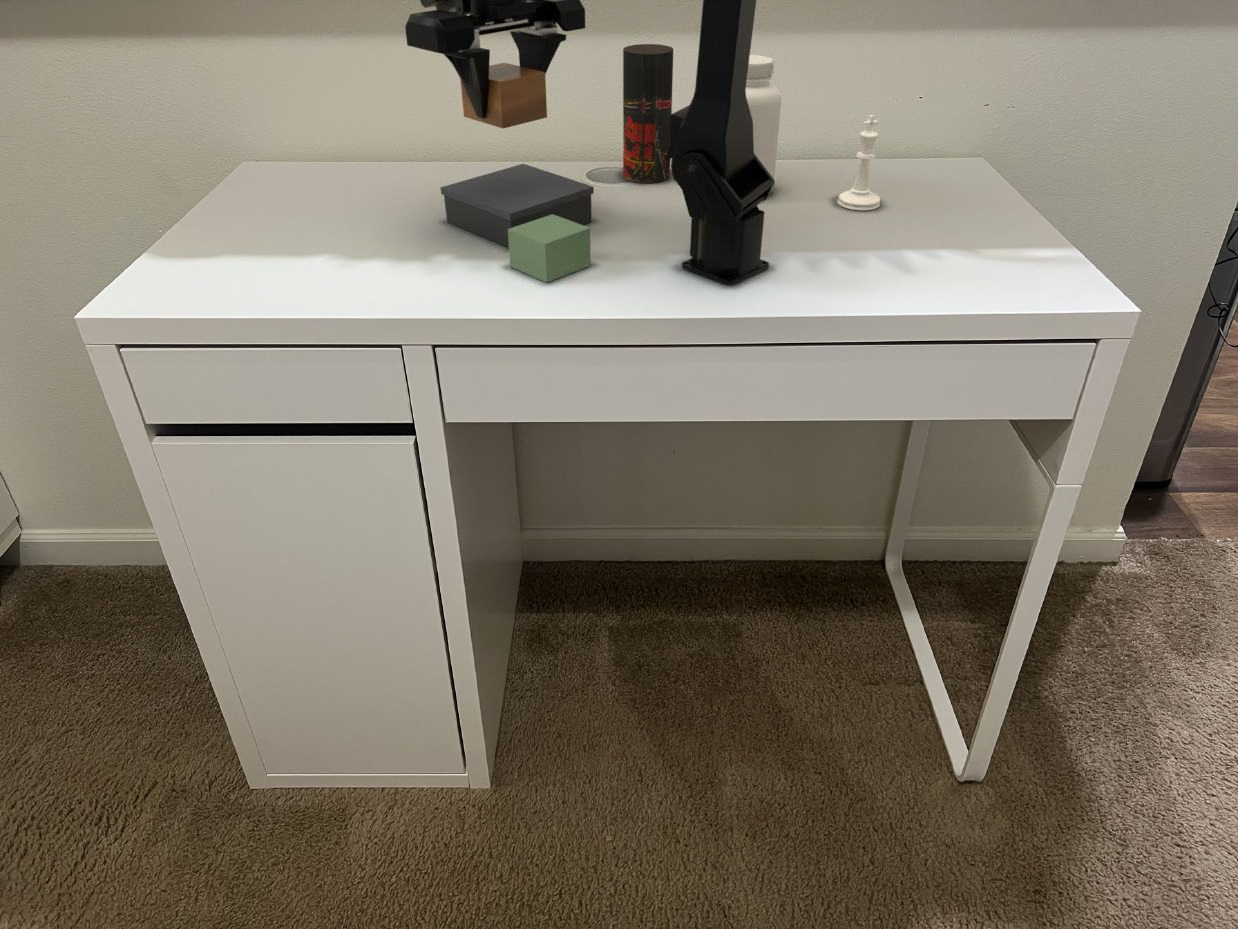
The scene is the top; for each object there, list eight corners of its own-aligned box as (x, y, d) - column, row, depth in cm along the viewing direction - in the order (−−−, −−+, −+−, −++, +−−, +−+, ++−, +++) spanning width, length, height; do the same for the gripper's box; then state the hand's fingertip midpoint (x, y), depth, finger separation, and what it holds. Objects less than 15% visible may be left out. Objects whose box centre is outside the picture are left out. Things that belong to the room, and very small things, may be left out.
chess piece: (888, 207, 107) (903, 118, 102) (852, 213, 106) (865, 123, 100) (864, 194, 111) (877, 108, 105) (829, 199, 110) (840, 112, 104)
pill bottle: (771, 180, 115) (783, 52, 107) (774, 202, 109) (787, 67, 100) (708, 178, 116) (715, 50, 107) (707, 200, 110) (714, 65, 101)
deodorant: (617, 171, 119) (616, 45, 110) (660, 166, 120) (663, 42, 112) (631, 185, 114) (632, 55, 105) (676, 180, 116) (680, 52, 107)
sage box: (591, 265, 93) (590, 227, 91) (546, 283, 90) (544, 243, 88) (554, 251, 97) (552, 213, 94) (510, 267, 93) (507, 229, 91)
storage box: (594, 221, 104) (593, 186, 101) (512, 250, 97) (509, 213, 94) (525, 196, 111) (523, 163, 108) (444, 222, 104) (440, 187, 101)
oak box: (547, 117, 96) (545, 72, 94) (502, 128, 93) (499, 81, 90) (507, 106, 100) (505, 62, 97) (463, 116, 97) (459, 71, 94)
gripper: (515, -72, 97) (524, 84, 106) (361, -58, 86) (386, 114, 95) (587, -64, 91) (590, 101, 100) (431, -48, 80) (450, 135, 89)
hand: (505, 112), depth 96 cm, fingers closed on oak box, 6 cm apart
